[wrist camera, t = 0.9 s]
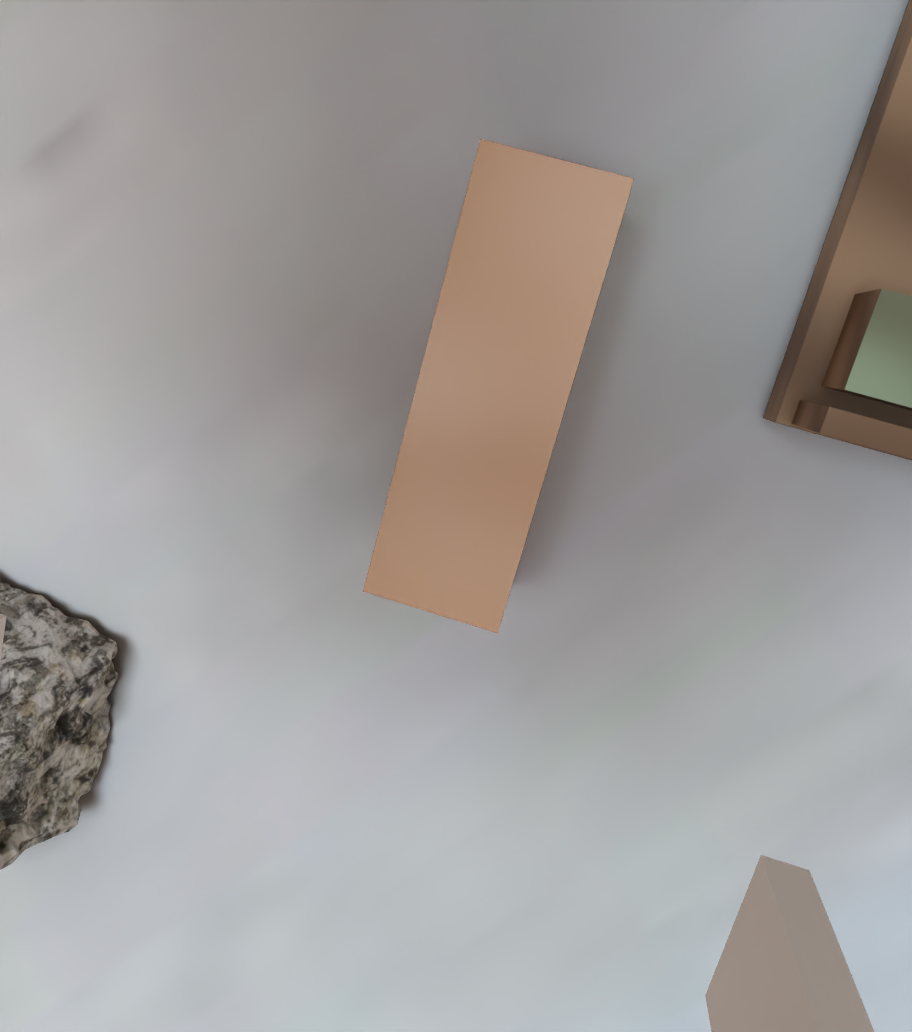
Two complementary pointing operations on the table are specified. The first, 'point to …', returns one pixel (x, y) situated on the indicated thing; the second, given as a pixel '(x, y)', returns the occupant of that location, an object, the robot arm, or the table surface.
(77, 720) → the rock
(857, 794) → the table surface
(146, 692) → the table surface
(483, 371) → the tan rectangular block
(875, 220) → the stand
